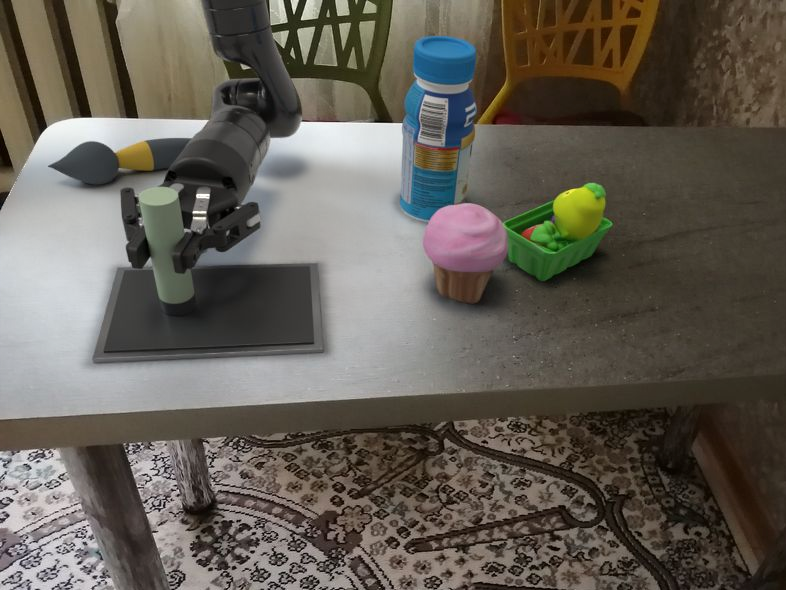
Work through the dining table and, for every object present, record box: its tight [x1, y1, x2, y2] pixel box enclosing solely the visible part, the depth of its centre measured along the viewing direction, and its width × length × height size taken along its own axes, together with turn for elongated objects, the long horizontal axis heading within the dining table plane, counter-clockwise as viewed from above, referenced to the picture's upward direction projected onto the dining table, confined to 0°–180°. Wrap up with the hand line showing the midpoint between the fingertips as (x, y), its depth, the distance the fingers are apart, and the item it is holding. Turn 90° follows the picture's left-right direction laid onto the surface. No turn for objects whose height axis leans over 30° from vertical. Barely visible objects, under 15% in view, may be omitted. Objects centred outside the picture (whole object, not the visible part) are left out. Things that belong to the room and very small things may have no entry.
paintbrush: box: [47, 137, 193, 186], centre depth 91 cm, size 20×5×5 cm, turn 134°
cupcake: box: [422, 202, 508, 305], centre depth 77 cm, size 9×9×10 cm
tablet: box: [91, 262, 324, 364], centre depth 73 cm, size 20×14×1 cm
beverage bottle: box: [399, 35, 478, 223], centre depth 86 cm, size 8×8×20 cm
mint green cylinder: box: [138, 186, 196, 316], centre depth 68 cm, size 3×3×12 cm
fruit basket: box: [502, 182, 613, 282], centre depth 83 cm, size 11×9×11 cm
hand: (156, 262), depth 65 cm, fingers closed on mint green cylinder, 3 cm apart
